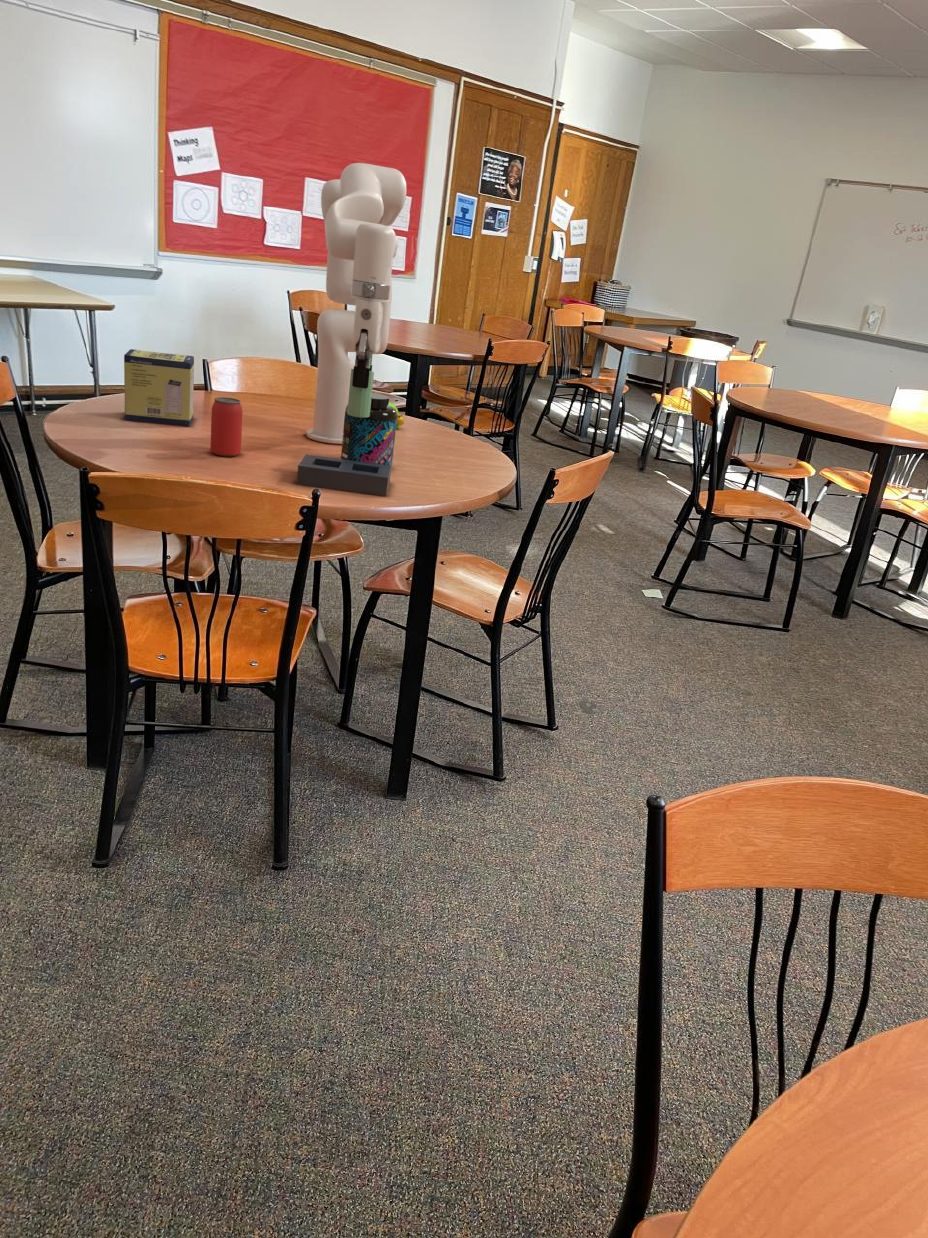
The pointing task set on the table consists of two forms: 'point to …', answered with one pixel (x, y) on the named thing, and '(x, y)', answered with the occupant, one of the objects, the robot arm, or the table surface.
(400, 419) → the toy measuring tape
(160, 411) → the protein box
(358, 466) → the hole block
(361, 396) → the bottle
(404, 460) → the table surface
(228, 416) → the beer can
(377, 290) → the robot arm
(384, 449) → the container
